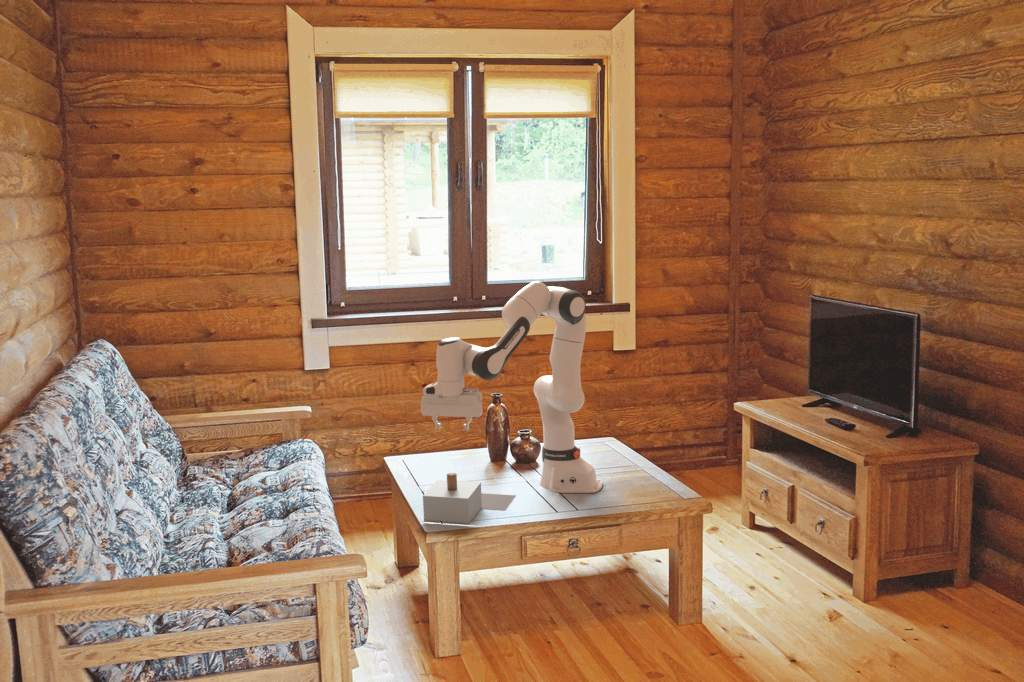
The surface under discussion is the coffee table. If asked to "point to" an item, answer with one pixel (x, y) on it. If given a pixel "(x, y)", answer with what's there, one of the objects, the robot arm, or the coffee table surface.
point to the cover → (452, 500)
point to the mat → (496, 501)
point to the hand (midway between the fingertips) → (452, 429)
